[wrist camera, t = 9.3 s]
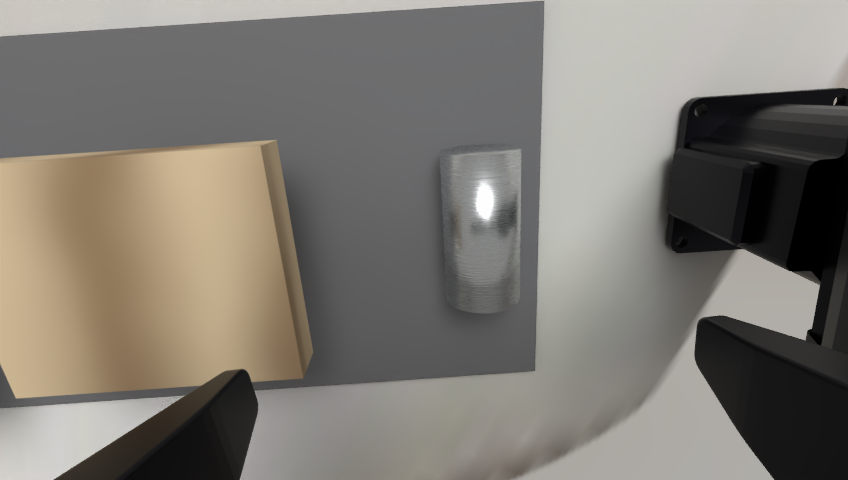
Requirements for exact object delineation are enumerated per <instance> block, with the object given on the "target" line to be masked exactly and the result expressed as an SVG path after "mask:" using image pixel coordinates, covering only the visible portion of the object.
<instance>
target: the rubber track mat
mask: <svg viewBox="0 0 848 480" xmlns="http://www.w3.org/2000/svg"><path fill="white" fill-rule="evenodd" d="M543 31H544V1H534V2H519V3H504V4H489V5H473V6H458V7H443V8H428V9H413V10H397V11H382V12H367V13H352V14H337V15H321V16H306V17H291V18H276V19H261V20H246V21H230V22H215V23H200V24H185V25H170V26H154V27H139V28H124V29H109V30H94V31H78V32H63V33H48V34H33V35H18V36H2V37H0V158H14V157H29V156H43V155H58V154H73V153H88V152H103V151H118V150H133V149H148V148H162V147H177V146H192V145H207V144H222V143H237V142H252V141H267V140H277V144H278V150H279V156H280V162H281V167H282V173H283V179H284V185H285V191H286V197H287V202H288V208H289V214H290V220H291V226H292V232H293V237H294V243H295V249H296V255H297V261H298V266H299V272H300V278H301V284H302V290H303V296H304V301H305V307H306V313H307V319H308V325H309V330H310V336H311V342H312V348H313V354H312V357H311V359H310V362H309V365H308V367H307V370H306V373H305V375H304V378H303V379H288V380H274V381H260V382H252V385H253V388H254V390H268V389H282V388H296V387H310V386H325V385H339V384H353V383H367V382H382V381H396V380H410V379H425V378H439V377H453V376H467V375H482V374H496V373H510V372H524V371H535V346H536V306H537V267H538V228H539V188H540V149H541V110H542V70H543ZM482 144H504V145H515V146H519V147H521V234H520V299H519V301H518V303H517V304H516V305H515V306H513V307H512V308H510V309H507V310H505V311H501V312H496V313H487V314H480V313H470V312H466V311H462V310H459V309H457V308H455V307H453V306H452V305H451V304H450V303H449V302H448V300H447V292H446V273H445V253H444V233H443V213H442V194H441V174H440V154H439V152H440V151H441V150H444V149H447V148H452V147H458V146H467V145H482ZM198 387H200V386H188V387H174V388H160V389H145V390H131V391H117V392H102V393H88V394H74V395H60V396H45V397H31V398H17V399H16V398H15V395H14V393H13V391H12V389H11V387H10V384H9V382H8V380H7V378H6V376H5V373H4V371H3V369H2V367H1V365H0V408H11V407H25V406H39V405H53V404H68V403H82V402H96V401H111V400H125V399H139V398H153V397H168V396H182V395H187V394H189V393H191V392H192V391H194V390H195V389H197V388H198Z"/></svg>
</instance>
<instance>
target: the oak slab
mask: <svg viewBox="0 0 848 480" xmlns="http://www.w3.org/2000/svg"><path fill="white" fill-rule="evenodd" d="M312 354H313V348H312V342H311V336H310V330H309V325H308V319H307V313H306V307H305V301H304V296H303V290H302V284H301V278H300V272H299V266H298V261H297V255H296V249H295V243H294V237H293V232H292V226H291V220H290V214H289V208H288V202H287V197H286V191H285V185H284V179H283V173H282V167H281V162H280V156H279V150H278V144H277V140H267V141H252V142H237V143H222V144H207V145H192V146H177V147H162V148H148V149H133V150H118V151H103V152H88V153H73V154H58V155H43V156H29V157H14V158H0V365H1V367H2V369H3V371H4V373H5V376H6V378H7V380H8V382H9V384H10V387H11V389H12V391H13V393H14V395H15V398H16V399H17V398H31V397H45V396H60V395H74V394H88V393H102V392H117V391H131V390H145V389H160V388H174V387H188V386H201V385H203V384H205V383H206V382H208V381H209V380H211V379H212V378H214V377H216V376H217V375H219V374H220V373H222V372H224V371H227V370H235V369H245V370H246V371H247V372H248V373H249V376H250V379H251V382H260V381H274V380H288V379H303V378H304V375H305V373H306V370H307V367H308V365H309V362H310V359H311V357H312Z"/></svg>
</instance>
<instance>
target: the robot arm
mask: <svg viewBox="0 0 848 480" xmlns="http://www.w3.org/2000/svg"><path fill="white" fill-rule="evenodd" d="M836 97H837V102H836V104H835V105H834V106H833V102H834V99H835V98H836ZM698 105H700V106H701V112H700V114H699V115H698V116H696V115H695V112H694V111H695V109H696V107H697V106H698ZM667 210H668V212H669V219H668V227H667V235H666V245H667V247H668V248H670V249H671V250H673V251H675V252H676V253H691V252H705V251H720V250H735V249H745V250H747V251H749V252H751V253H753V254H755V255H757V256H759V257H762V258H763V259H766V260H768V261H770V262H772V263H774V264H776V265H778V266H780V267H782V268H784V269H786V270H789V271H792V272H794V273H796V274H798V275H800V276H802V277H804V278H806V279H808V280H810V281H813V282H815V283H817V284H819V285H820V289H819V294H818V299H817V305H816V311H815V316H814V321H813V327H812V329H810V330H808V331H807V336H806V341H805V340H802V339H798V338H795V337H792V336H788V335H785V334H782V333H779V332H775V331H772V330H769V329H766V328H762V327H759V326H756V325H753V324H749V323H746V322H743V321H740V320H736V319H733V318H730V317H727V316H713V317H704V318H701V319H700V320H699V322H698V324H697V331H696V342H695V361H696V364H697V366H698V368H699V370H700V371H701V373H702V374H703V376H704V378H705V379H706V381H707V382H708V384H709V386H710V387H711V389H712V390H713V392H714V393H715V395H716V397H717V398H718V400H719V401H720V403H721V405H722V407H723V408H724V410H725V411H726V413H727V414H728V416H729V418H730V419H731V421H732V423H733V424H734V426H735V427H736V429H737V430H738V432H739V433H740V435H741V436H742V437H743V439H744V440H745V442H746V443H747V444H748V446H749V447H750V448H751V450H752V451H753V452H754V454H755V455H756V456H757V458H758V459H759V460H760V462H761V463H762V464H763V465H764V467H765V468H766V469H767V471H768V472H769V473H770V475H771V476H772V477H773V478H774V480H848V89H845V88H829V89H814V90H800V91H785V92H770V93H755V94H740V95H725V96H710V97H696V98H692V99H691V100H689V101H688V102H687V103H686V104H685V106H684V108H683V111H682V118H681V126H680V134H679V141H678V149H677V152H676V153H675V154H674V160H673V167H672V175H671V183H670V191H669V199H668V207H667ZM681 237H683V240H682V242H681V243H680V244H678V245H677V244H676V243H677V240H678V239H679V238H681ZM257 414H258V402H257V398H256V395H255V392H254V388H253V385H252V382H251V379H250V376H249V373H248V372H247V371H246V370H245V369H235V370H227V371H224V372H222V373H220V374H219V375H217V376H216V377H214V378H212V379H211V380H209V381H208V382H206V383H205V384H203V385H201V386H200V387H198V388H197V389H195V390H194V391H192V392H191V393H189V394H187V395H186V396H184V397H183V398H181V399H180V400H178V401H176V402H175V403H173V404H172V405H170V406H169V407H167V408H165V409H164V410H162V411H161V412H159V413H158V414H156V415H154V416H153V417H151V418H150V419H148V420H147V421H145V422H143V423H142V424H140V425H139V426H137V427H136V428H134V429H132V430H131V431H129V432H128V433H126V434H125V435H123V436H122V437H120V438H118V439H117V440H115V441H114V442H112V443H111V444H109V445H107V446H106V447H104V448H103V449H101V450H100V451H98V452H96V453H95V454H93V455H92V456H90V457H89V458H87V459H85V460H84V461H82V462H81V463H79V464H78V465H76V466H74V467H73V468H71V469H70V470H68V471H67V472H65V473H63V474H62V475H60V476H59V477H57V478H56V479H54V480H240V477H241V473H242V470H243V466H244V462H245V458H246V455H247V451H248V447H249V444H250V440H251V436H252V432H253V429H254V425H255V421H256V418H257Z"/></svg>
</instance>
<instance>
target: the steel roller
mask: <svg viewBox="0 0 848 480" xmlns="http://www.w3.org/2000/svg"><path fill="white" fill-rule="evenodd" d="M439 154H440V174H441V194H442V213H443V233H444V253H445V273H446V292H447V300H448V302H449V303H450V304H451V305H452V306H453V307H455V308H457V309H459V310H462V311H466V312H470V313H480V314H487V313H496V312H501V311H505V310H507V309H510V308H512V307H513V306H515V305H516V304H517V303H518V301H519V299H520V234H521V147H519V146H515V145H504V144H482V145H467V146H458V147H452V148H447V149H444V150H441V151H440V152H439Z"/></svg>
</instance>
